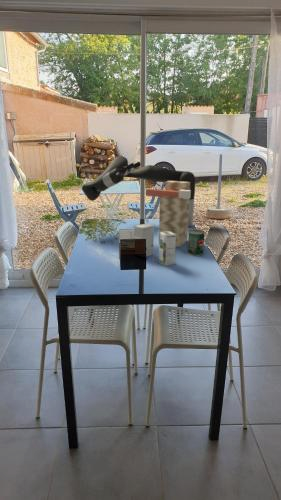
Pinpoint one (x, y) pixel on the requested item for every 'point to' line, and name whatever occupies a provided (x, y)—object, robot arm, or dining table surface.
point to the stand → (175, 212)
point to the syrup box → (167, 248)
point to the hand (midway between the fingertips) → (137, 163)
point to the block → (169, 193)
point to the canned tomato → (196, 242)
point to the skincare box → (146, 236)
